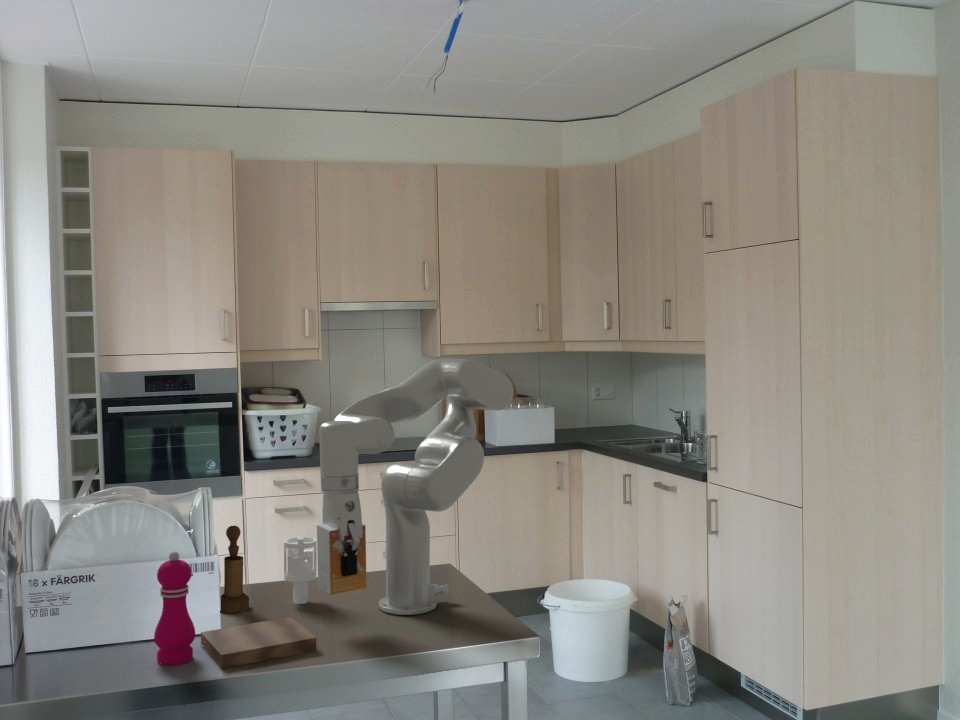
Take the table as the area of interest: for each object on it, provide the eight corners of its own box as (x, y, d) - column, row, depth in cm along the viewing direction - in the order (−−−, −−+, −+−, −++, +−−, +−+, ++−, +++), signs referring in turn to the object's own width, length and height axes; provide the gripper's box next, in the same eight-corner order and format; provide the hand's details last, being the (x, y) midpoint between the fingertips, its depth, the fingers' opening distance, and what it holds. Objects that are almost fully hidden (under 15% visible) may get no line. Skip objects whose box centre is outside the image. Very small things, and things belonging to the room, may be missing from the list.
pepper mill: (163, 651, 174) (162, 546, 173) (201, 652, 174) (200, 547, 173) (148, 666, 167) (146, 556, 166) (187, 666, 167) (186, 557, 166)
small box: (330, 596, 182) (328, 530, 181) (317, 587, 187) (315, 524, 186) (367, 588, 186) (366, 524, 185) (354, 580, 191) (352, 518, 190)
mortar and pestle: (253, 610, 199) (253, 527, 198) (224, 615, 196) (223, 531, 195) (242, 602, 205) (242, 521, 204) (213, 607, 201) (213, 525, 200)
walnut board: (290, 629, 187) (290, 616, 187) (316, 650, 175) (316, 637, 175) (200, 645, 178) (200, 632, 178) (221, 668, 166) (221, 655, 166)
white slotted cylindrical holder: (284, 607, 201) (284, 539, 200) (283, 598, 208) (283, 532, 207) (317, 605, 202) (317, 538, 202) (315, 596, 209) (315, 530, 208)
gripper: (375, 487, 180) (377, 578, 181) (340, 473, 194) (342, 557, 196) (339, 492, 176) (341, 585, 177) (306, 477, 190) (308, 563, 192)
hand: (342, 569), depth 186 cm, fingers closed on small box, 6 cm apart
